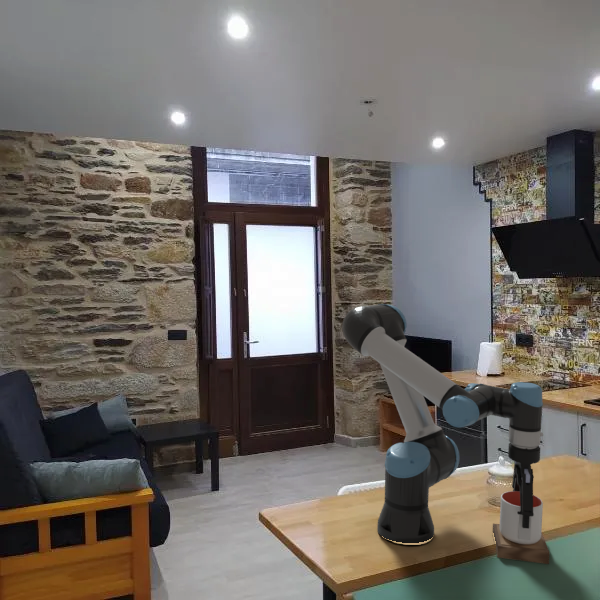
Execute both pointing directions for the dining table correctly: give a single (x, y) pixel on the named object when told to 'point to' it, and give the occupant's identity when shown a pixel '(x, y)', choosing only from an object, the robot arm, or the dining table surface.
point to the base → (520, 548)
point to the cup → (511, 518)
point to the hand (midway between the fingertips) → (520, 528)
